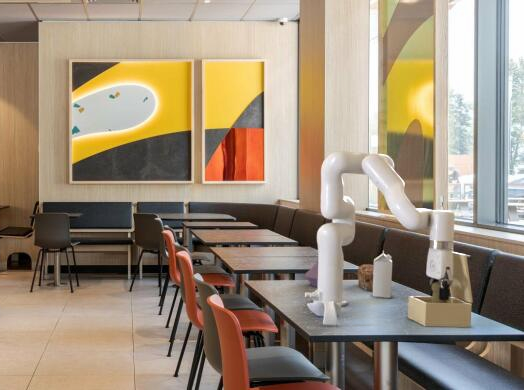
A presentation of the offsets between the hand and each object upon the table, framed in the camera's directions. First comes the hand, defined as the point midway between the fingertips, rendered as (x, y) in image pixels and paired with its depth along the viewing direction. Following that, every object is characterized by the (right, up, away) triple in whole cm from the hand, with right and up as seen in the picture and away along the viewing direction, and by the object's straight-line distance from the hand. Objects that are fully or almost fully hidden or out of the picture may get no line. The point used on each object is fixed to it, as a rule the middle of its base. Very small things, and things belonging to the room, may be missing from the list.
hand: (439, 297), depth 217 cm
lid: (+6, +7, 0) cm, 10 cm away
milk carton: (-1, -7, +47) cm, 48 cm away
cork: (0, -6, 0) cm, 6 cm away
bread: (+2, -7, +66) cm, 67 cm away
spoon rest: (-39, -8, +2) cm, 40 cm away
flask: (-20, -6, +70) cm, 73 cm away
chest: (0, -9, 0) cm, 9 cm away
